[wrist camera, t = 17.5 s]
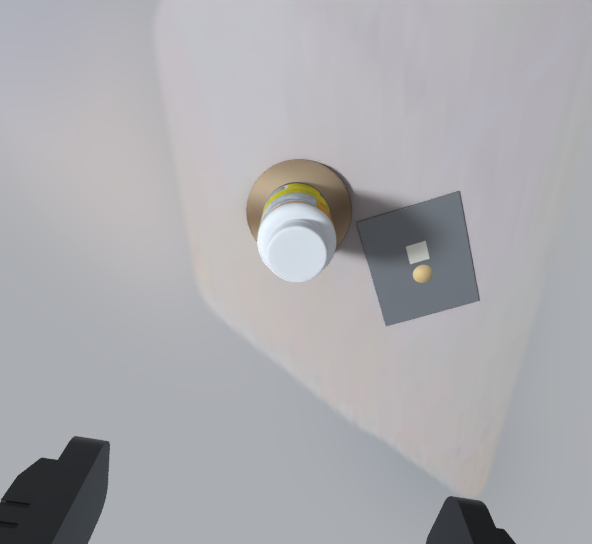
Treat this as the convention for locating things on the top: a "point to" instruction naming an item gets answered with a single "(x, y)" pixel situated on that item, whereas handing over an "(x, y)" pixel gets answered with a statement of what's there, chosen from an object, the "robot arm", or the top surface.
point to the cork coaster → (307, 174)
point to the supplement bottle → (296, 232)
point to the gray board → (420, 259)
